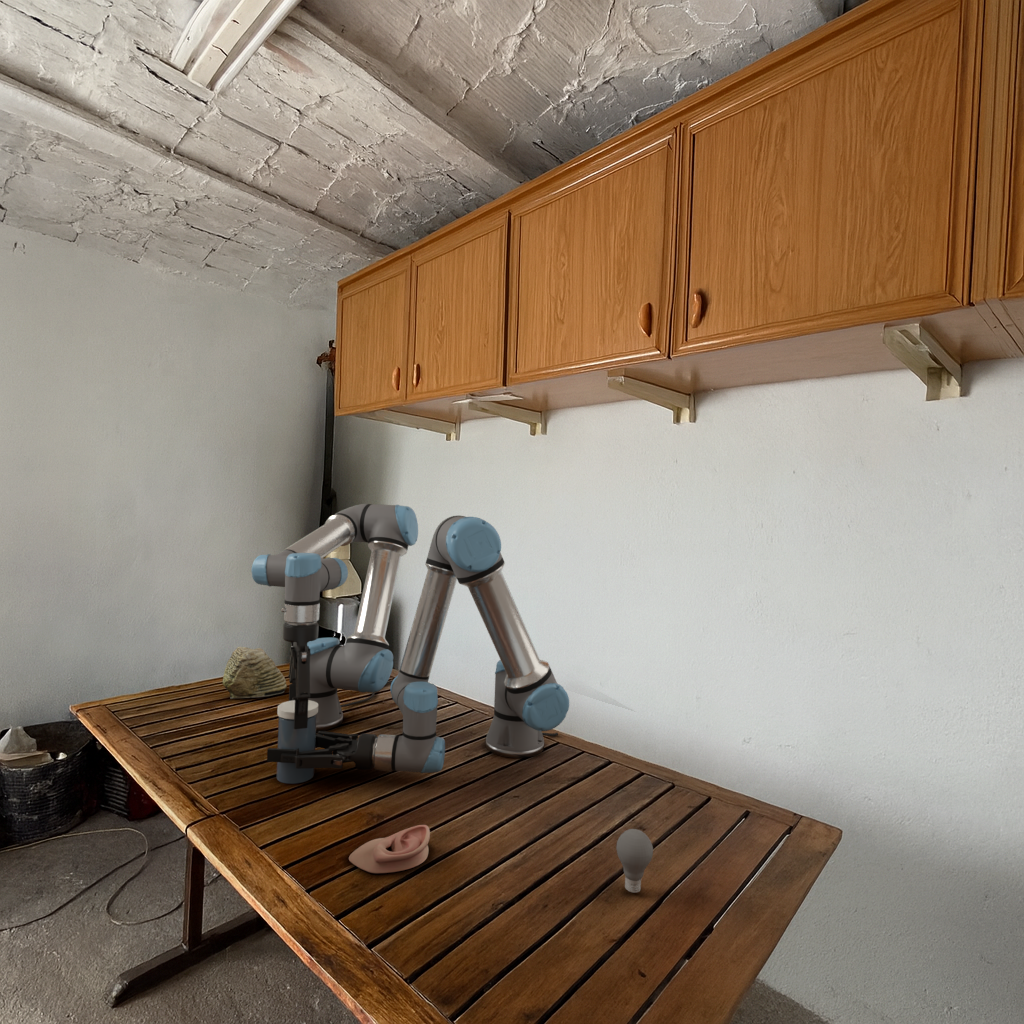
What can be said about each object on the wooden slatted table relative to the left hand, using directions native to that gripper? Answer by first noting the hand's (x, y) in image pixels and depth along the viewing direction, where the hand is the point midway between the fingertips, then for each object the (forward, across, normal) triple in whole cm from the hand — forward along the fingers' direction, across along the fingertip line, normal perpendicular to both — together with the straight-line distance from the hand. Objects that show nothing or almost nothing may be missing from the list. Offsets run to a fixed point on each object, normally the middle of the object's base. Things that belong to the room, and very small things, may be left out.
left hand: (297, 719), depth 143 cm
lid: (-3, 0, 0) cm, 3 cm away
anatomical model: (+13, +39, +12) cm, 43 cm away
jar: (+13, 0, 0) cm, 13 cm away
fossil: (+13, -63, -5) cm, 65 cm away
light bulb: (+13, +64, +46) cm, 80 cm away
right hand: (+6, -2, -4) cm, 8 cm away
